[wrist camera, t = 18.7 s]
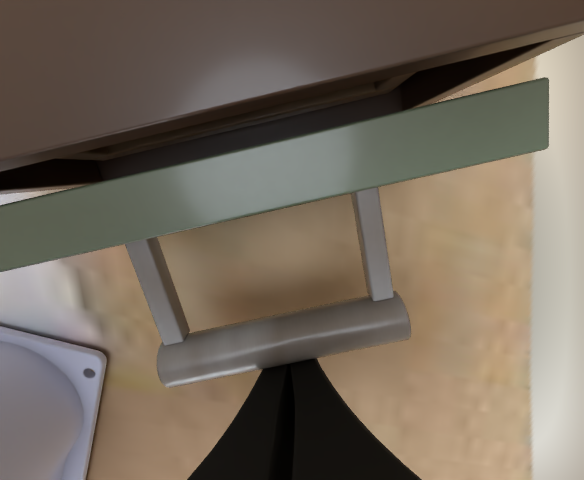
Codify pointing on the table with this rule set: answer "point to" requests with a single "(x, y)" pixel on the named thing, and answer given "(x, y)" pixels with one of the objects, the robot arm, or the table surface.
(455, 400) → the table surface
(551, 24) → the cabinet
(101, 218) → the drawer
